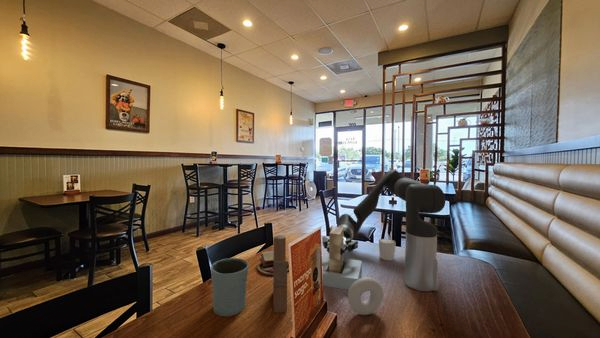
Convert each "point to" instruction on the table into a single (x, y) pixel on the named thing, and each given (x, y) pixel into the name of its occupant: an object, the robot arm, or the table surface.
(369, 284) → the donut
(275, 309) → the wooden block
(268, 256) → the toy sandwich meal
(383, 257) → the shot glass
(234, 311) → the grey-blue cup
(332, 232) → the plank
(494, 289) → the table surface
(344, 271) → the slotted base
